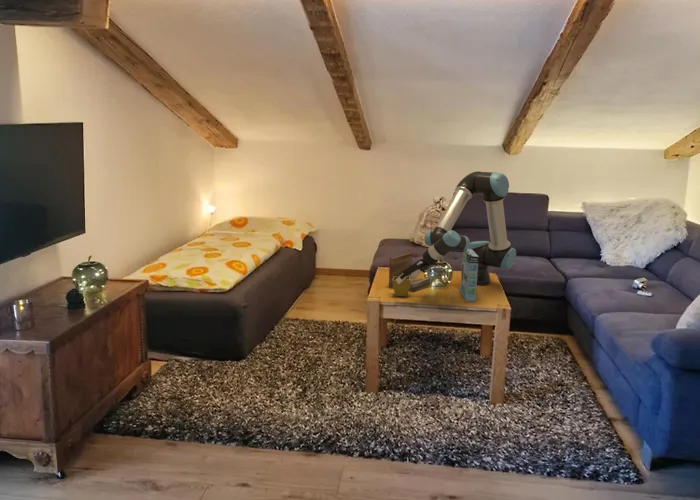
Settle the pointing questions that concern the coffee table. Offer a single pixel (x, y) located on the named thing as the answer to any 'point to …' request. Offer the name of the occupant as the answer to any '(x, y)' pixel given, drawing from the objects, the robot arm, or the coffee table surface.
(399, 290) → the flower pot
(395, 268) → the wooden shelf
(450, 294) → the coffee table surface
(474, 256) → the blue cardboard box
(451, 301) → the coffee table surface
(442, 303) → the coffee table surface
